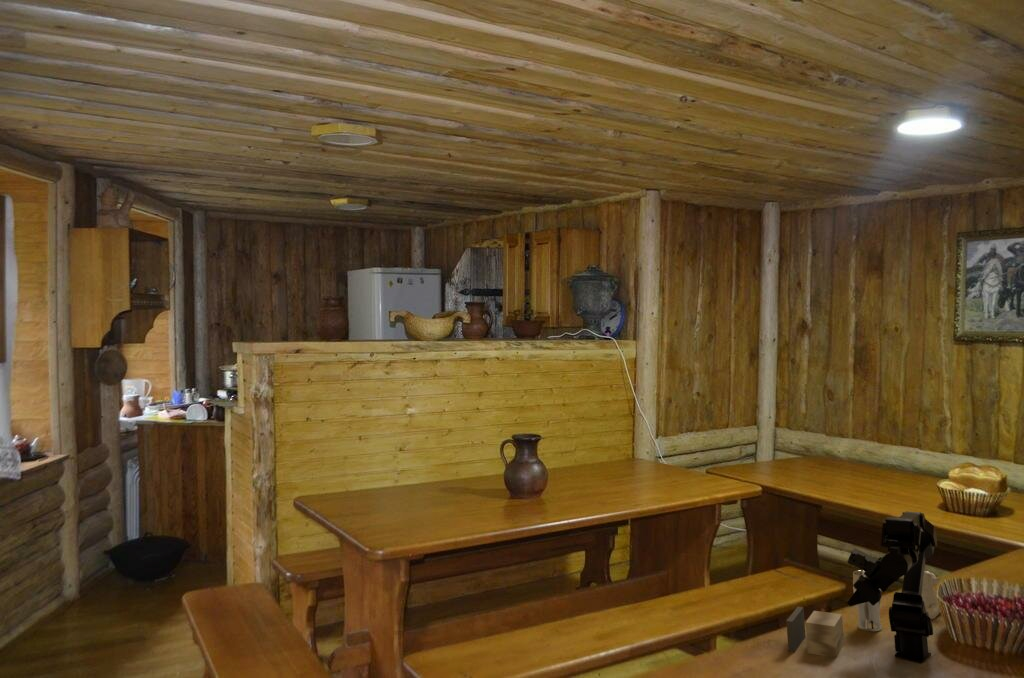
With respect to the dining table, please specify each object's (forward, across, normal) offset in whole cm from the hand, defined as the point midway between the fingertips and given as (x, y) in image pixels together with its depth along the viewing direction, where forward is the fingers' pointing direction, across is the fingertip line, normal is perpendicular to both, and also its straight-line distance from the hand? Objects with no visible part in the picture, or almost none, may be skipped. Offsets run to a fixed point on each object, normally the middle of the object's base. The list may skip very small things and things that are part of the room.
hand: (848, 604), depth 191 cm
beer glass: (+8, -21, +9) cm, 24 cm away
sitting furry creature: (-1, -39, +17) cm, 43 cm away
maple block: (+14, -1, +4) cm, 14 cm away
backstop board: (+19, -1, -1) cm, 19 cm away
